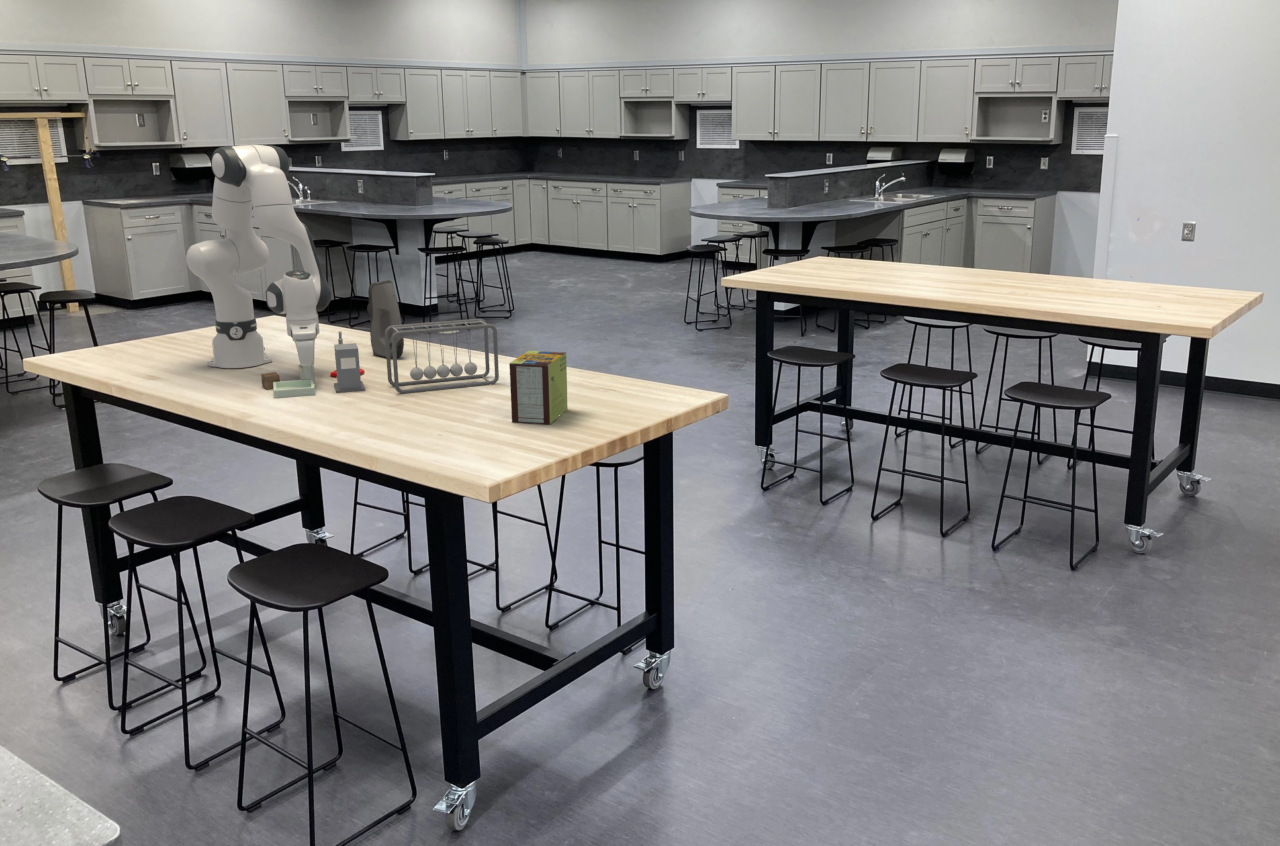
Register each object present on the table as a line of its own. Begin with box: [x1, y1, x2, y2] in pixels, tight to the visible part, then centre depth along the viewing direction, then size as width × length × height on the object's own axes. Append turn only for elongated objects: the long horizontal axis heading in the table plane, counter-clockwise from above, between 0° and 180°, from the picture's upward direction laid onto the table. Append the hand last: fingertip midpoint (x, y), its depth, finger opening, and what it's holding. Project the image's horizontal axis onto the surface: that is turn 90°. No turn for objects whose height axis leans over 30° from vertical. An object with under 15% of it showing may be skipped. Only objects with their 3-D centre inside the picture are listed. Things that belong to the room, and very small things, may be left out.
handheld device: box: [366, 279, 405, 360], centre depth 338 cm, size 6×15×25 cm, turn 46°
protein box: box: [509, 350, 569, 425], centre depth 269 cm, size 10×15×16 cm
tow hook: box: [329, 330, 365, 378], centre depth 316 cm, size 9×14×10 cm
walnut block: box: [260, 371, 281, 391], centre depth 301 cm, size 4×4×4 cm
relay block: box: [298, 364, 316, 385], centre depth 305 cm, size 4×4×6 cm
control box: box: [333, 342, 366, 394], centre depth 299 cm, size 10×8×12 cm
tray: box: [272, 379, 316, 399], centre depth 295 cm, size 11×11×2 cm
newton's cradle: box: [385, 318, 500, 395], centre depth 301 cm, size 30×10×18 cm, turn 114°
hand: (307, 375), depth 305 cm, fingers open, 7 cm apart
